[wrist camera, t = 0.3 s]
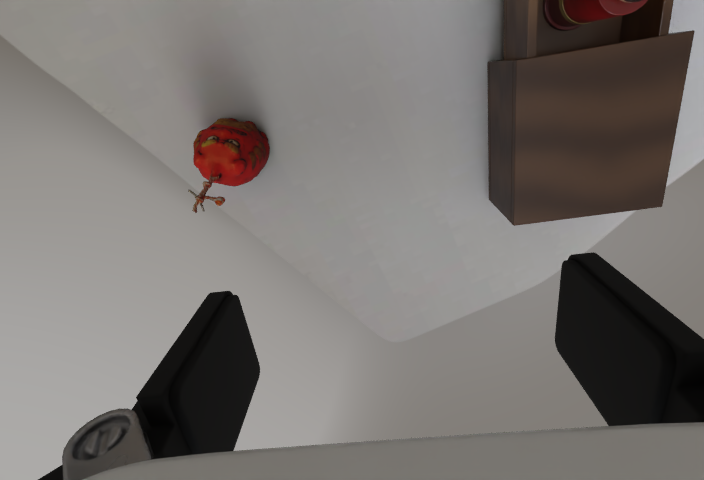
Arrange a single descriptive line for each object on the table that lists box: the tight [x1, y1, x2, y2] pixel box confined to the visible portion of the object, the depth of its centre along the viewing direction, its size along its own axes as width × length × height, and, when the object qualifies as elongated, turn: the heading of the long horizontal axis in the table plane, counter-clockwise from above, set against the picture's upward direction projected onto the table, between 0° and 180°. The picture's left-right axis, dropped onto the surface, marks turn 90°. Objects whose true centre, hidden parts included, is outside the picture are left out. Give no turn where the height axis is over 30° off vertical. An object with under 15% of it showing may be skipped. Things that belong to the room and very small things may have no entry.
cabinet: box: [488, 31, 694, 226], centre depth 39 cm, size 16×14×9 cm
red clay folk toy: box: [189, 118, 270, 213], centre depth 38 cm, size 8×7×15 cm
